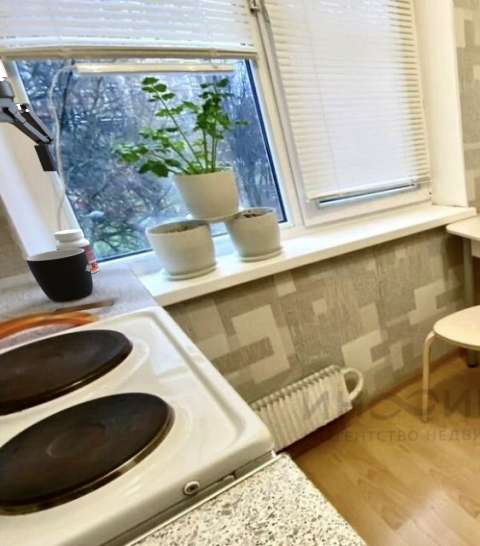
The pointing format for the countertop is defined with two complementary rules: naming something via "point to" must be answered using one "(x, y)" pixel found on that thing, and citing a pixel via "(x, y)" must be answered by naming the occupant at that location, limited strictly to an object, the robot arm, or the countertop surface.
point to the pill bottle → (76, 245)
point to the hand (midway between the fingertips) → (22, 174)
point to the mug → (62, 274)
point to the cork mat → (83, 307)
